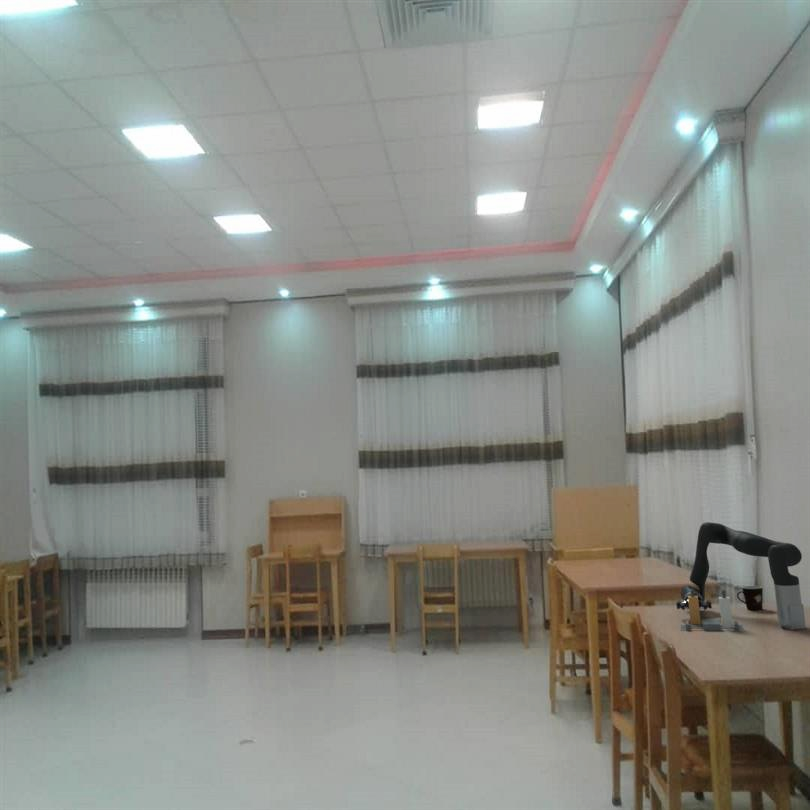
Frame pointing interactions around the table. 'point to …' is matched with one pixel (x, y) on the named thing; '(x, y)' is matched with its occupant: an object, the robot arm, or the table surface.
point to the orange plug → (694, 608)
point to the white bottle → (725, 611)
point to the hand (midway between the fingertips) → (694, 607)
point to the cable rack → (710, 626)
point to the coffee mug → (752, 597)
